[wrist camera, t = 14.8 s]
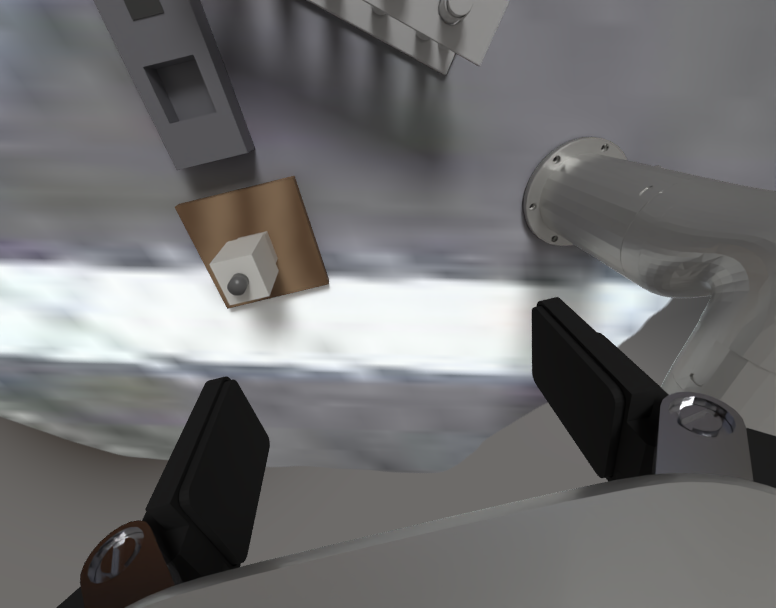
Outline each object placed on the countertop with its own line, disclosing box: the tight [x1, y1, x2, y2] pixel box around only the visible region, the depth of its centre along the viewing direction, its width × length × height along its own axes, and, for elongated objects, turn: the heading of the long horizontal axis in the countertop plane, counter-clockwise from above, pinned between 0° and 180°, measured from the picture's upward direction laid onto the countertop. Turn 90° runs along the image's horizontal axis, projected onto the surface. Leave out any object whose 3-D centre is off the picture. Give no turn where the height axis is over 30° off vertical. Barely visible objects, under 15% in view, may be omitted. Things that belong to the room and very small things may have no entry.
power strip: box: [94, 0, 255, 170], centre depth 30 cm, size 7×22×4 cm, turn 12°
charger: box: [209, 231, 279, 305], centre depth 37 cm, size 4×4×10 cm
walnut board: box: [175, 176, 329, 309], centre depth 42 cm, size 13×13×1 cm
